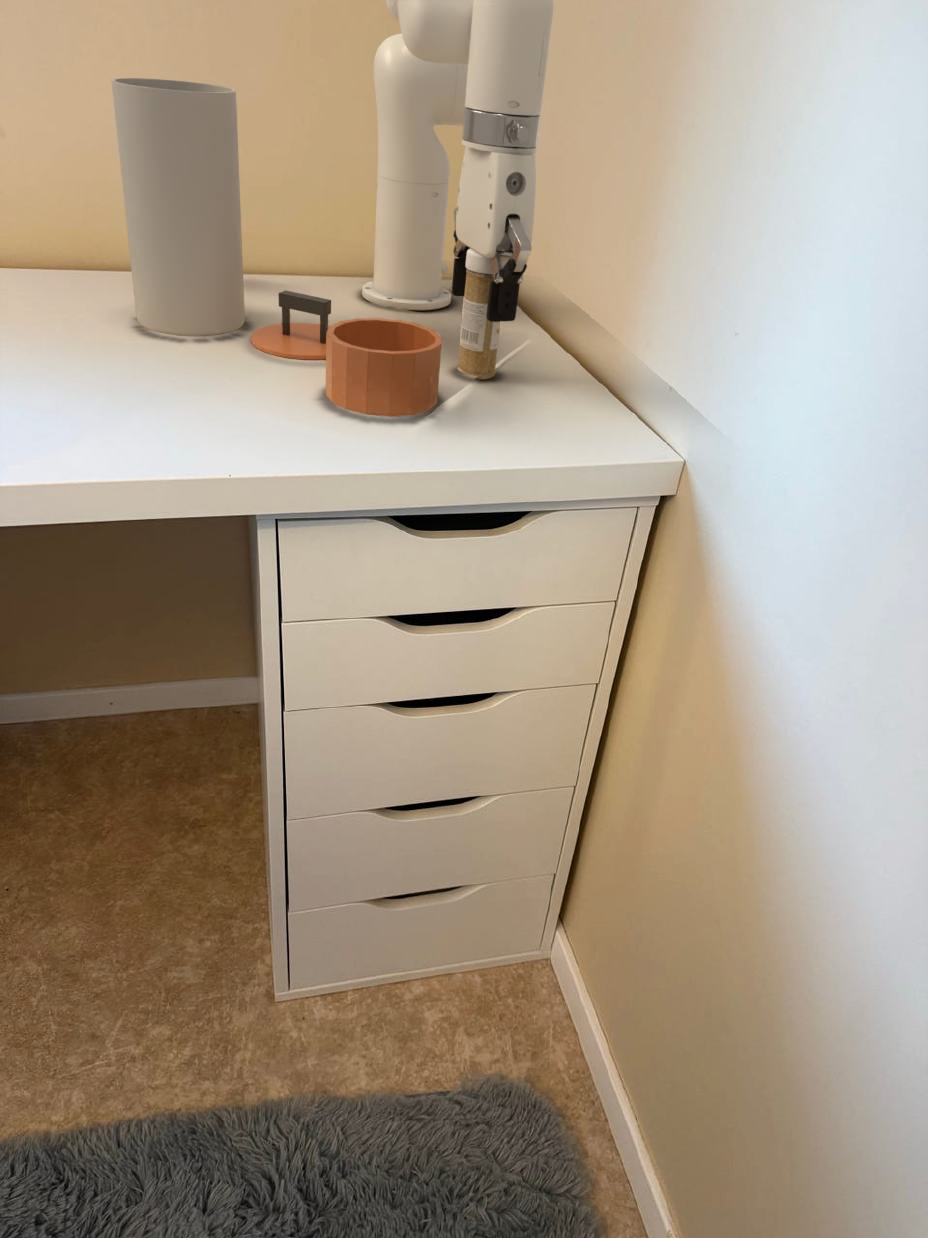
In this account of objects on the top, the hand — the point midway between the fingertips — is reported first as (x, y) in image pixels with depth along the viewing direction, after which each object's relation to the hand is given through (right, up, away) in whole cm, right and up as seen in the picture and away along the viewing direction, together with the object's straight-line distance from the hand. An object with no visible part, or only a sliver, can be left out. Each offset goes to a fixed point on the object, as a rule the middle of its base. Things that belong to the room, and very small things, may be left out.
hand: (482, 307), depth 99 cm
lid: (-21, -2, +6) cm, 21 cm away
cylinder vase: (-35, +1, +9) cm, 36 cm away
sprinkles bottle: (-1, -6, +4) cm, 8 cm away
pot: (-11, -12, -6) cm, 17 cm away
